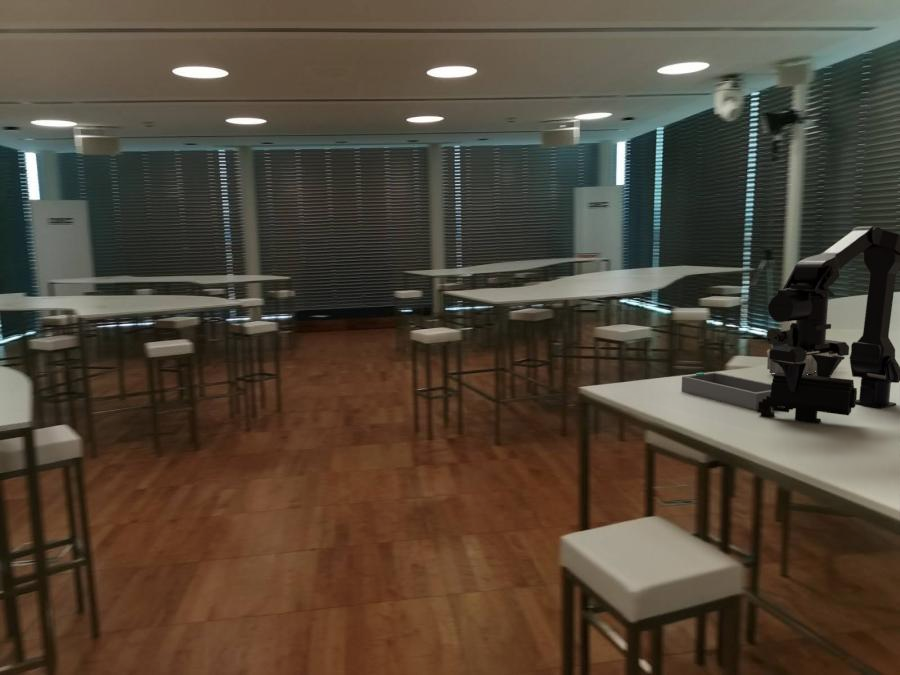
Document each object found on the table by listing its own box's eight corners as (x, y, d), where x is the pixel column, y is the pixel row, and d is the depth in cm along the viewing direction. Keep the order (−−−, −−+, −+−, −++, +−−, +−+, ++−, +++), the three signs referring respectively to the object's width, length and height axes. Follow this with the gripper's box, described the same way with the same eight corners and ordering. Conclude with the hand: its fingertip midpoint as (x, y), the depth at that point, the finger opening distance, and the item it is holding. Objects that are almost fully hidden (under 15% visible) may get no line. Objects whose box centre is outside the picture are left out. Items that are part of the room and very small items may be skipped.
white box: (758, 379, 181) (760, 345, 179) (786, 365, 202) (788, 334, 200) (803, 385, 173) (805, 349, 172) (827, 369, 194) (829, 337, 192)
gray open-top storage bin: (713, 386, 172) (714, 370, 172) (789, 404, 152) (790, 386, 151) (681, 391, 167) (682, 375, 167) (755, 410, 147) (756, 392, 146)
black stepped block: (762, 411, 146) (764, 369, 144) (855, 424, 134) (858, 379, 133) (754, 417, 141) (756, 374, 139) (850, 432, 129) (854, 385, 127)
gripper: (804, 313, 145) (800, 378, 147) (748, 318, 137) (745, 387, 139) (852, 317, 135) (847, 387, 137) (795, 323, 127) (791, 397, 129)
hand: (806, 389), depth 136 cm, fingers open, 9 cm apart
